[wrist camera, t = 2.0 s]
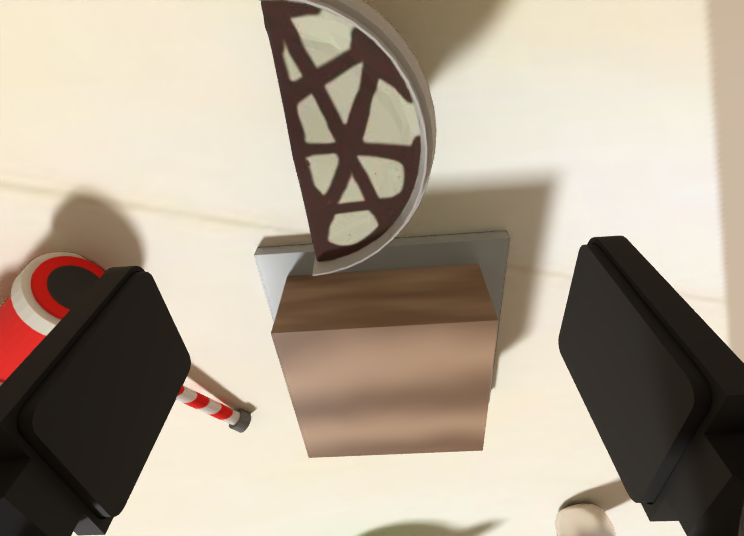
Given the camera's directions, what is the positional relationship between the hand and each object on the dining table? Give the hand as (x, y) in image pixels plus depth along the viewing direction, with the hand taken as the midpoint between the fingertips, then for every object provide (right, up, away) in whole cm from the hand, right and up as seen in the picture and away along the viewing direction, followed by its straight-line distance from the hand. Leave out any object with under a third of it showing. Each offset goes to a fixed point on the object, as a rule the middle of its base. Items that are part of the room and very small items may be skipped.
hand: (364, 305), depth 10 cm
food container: (0, +11, +15) cm, 19 cm away
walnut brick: (+1, -5, +25) cm, 26 cm away
